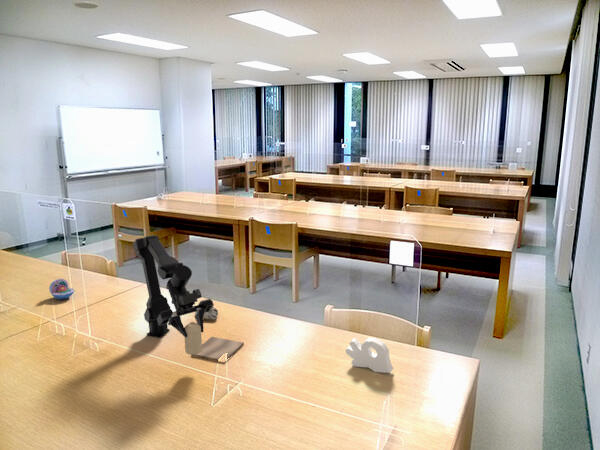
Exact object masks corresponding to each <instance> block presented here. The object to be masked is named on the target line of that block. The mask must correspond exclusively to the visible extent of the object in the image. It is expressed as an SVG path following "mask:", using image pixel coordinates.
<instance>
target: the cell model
mask: <svg viewBox="0 0 600 450" xmlns="http://www.w3.org/2000/svg"><path fill="white" fill-rule="evenodd" d="M48 288H49V289H48V290H49V294H50V295H51V296H53V297H54V298H55V299H57V300H65V299H66V300H67V299H69V298H71V296H73V294H74V293H75V292H76V290H75V289H74V288H73V287H69V282H68V281H67V280H66V279H64V278H58V279H55V280H53V281H52V282H51V283H50V284H49V287H48Z"/></svg>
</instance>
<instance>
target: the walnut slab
mask: <svg viewBox="0 0 600 450" xmlns="http://www.w3.org/2000/svg"><path fill="white" fill-rule="evenodd" d="M243 346H244V342H242V341H238V340H234V339H233V340H231V339H226V338H222V337H217V336H210V337H209V338H208V339H207V340H206V341H204V342H203V343H202V351H201V352H200V353H198V354H194V355H190V357H194V358H199V359H202V360H203V359H204V360H209V361H212V362H213V361H214V362H218V359H219V358H220V357H221V356H222V355H223V354H225V353H228V354H227V359H228V358H230V357H231V356H232V357H233V356H234V355H235V354H236V353H237V352H238V351H239V350H240V349H242V347H243ZM232 357H231V358H232ZM231 358H230V359H231Z"/></svg>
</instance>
